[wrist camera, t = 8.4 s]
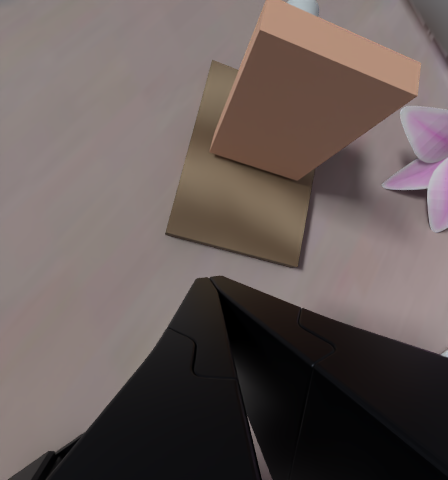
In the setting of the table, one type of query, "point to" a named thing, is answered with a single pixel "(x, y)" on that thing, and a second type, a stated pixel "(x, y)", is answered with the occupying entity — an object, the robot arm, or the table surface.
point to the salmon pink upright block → (308, 91)
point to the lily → (426, 160)
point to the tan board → (236, 192)
